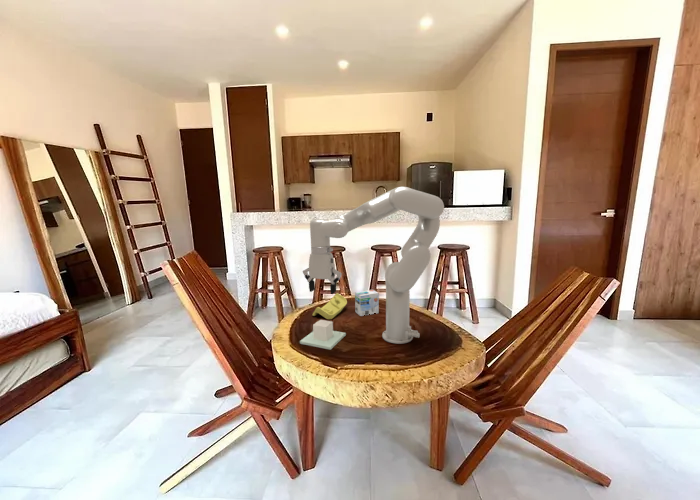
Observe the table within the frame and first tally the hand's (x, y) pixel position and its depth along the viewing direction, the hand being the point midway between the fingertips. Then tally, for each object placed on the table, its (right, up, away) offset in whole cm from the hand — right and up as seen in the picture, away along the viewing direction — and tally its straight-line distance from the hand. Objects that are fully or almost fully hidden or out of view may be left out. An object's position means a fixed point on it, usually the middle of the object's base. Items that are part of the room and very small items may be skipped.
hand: (322, 292), depth 124 cm
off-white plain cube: (0, -19, +3) cm, 19 cm away
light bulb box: (+20, -15, +32) cm, 41 cm away
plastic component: (+2, -16, +33) cm, 37 cm away
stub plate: (0, -20, +3) cm, 20 cm away
